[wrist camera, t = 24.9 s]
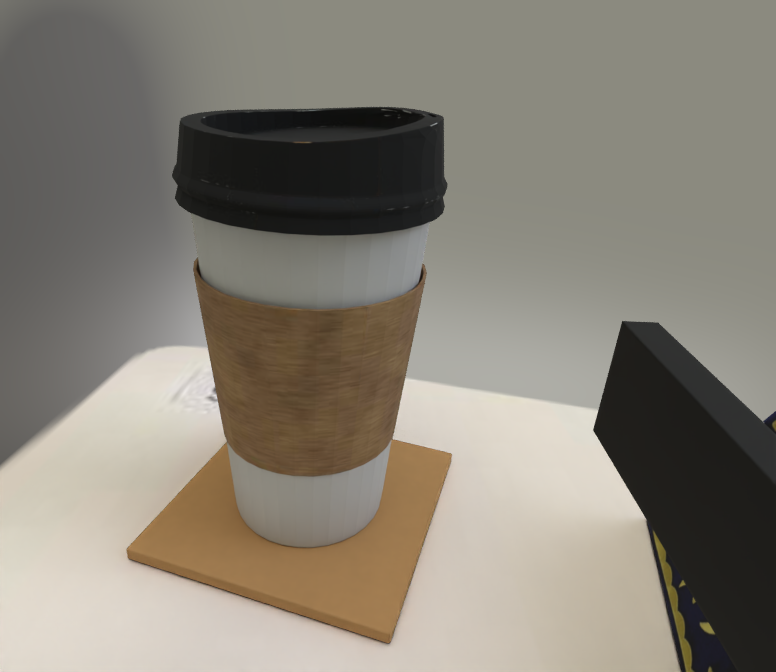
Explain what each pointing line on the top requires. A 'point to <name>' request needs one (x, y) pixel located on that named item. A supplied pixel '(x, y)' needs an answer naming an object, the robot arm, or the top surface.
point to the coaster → (303, 565)
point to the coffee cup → (310, 298)
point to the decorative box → (691, 614)
